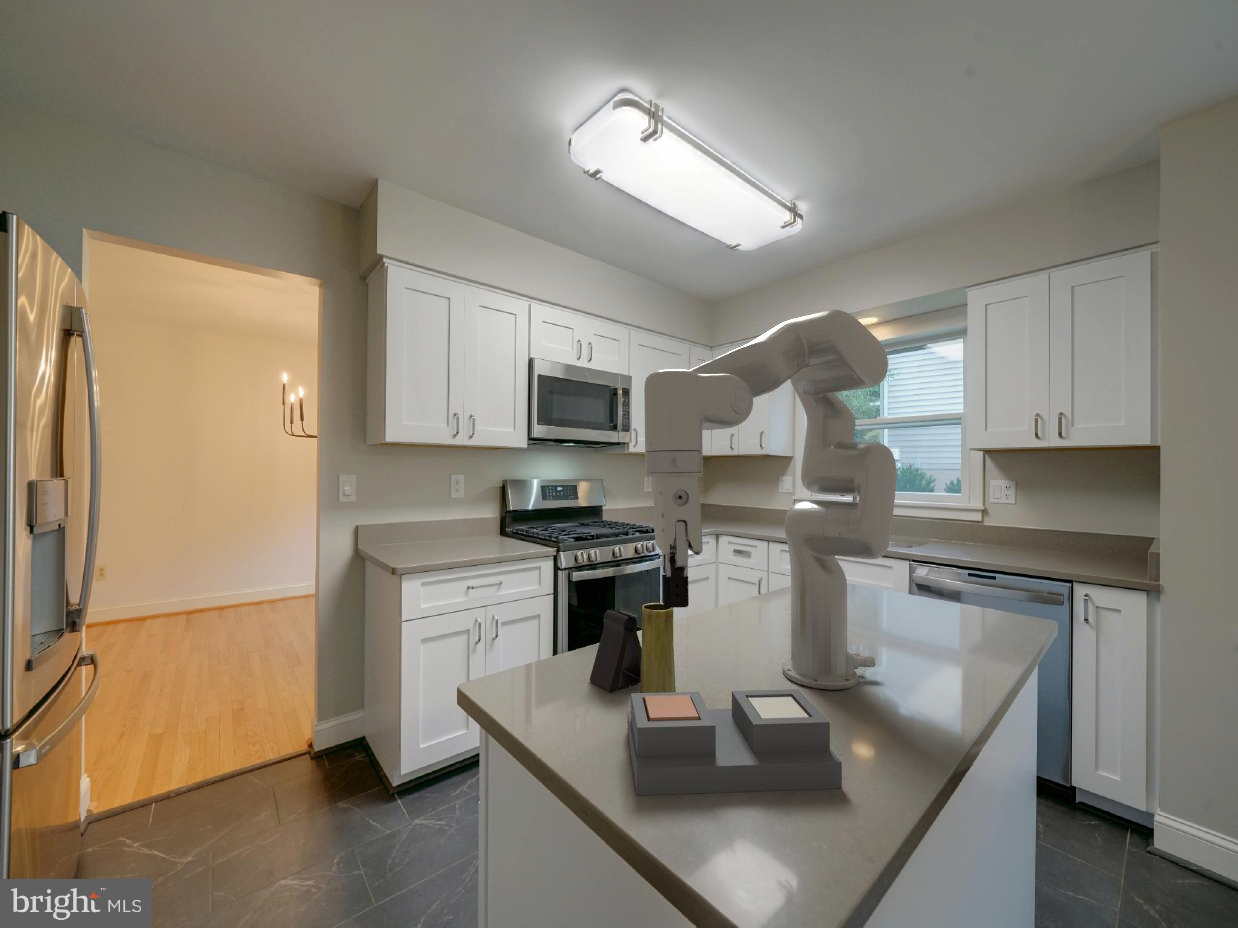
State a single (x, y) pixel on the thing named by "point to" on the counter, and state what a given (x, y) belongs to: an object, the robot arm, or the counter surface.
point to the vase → (657, 649)
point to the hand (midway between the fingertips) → (675, 605)
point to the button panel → (731, 748)
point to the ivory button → (777, 707)
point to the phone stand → (617, 653)
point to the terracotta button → (670, 708)
